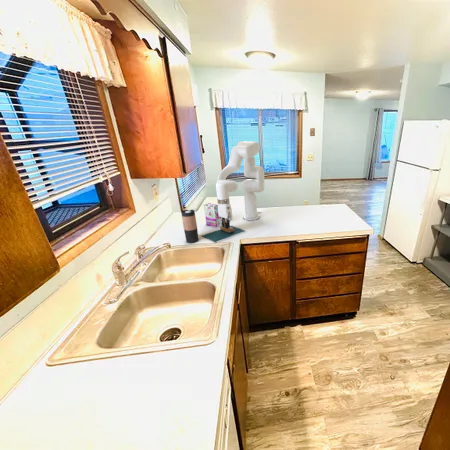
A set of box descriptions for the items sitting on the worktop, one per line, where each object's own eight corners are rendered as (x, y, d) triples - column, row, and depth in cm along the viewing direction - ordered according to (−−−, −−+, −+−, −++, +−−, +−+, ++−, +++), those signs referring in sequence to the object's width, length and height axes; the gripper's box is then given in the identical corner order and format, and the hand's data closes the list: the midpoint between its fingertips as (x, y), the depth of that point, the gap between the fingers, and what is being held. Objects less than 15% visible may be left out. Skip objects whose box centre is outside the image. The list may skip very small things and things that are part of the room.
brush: (225, 229, 170) (223, 216, 166) (234, 232, 165) (232, 219, 161) (220, 231, 167) (218, 218, 164) (229, 234, 162) (227, 221, 158)
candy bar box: (222, 225, 179) (219, 204, 174) (217, 227, 175) (214, 206, 169) (211, 223, 184) (208, 202, 178) (206, 225, 180) (203, 204, 174)
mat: (231, 226, 178) (231, 225, 178) (245, 231, 169) (245, 230, 169) (202, 236, 160) (202, 235, 160) (216, 242, 151) (216, 241, 151)
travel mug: (190, 244, 148) (186, 213, 141) (183, 241, 152) (178, 211, 145) (201, 240, 154) (197, 210, 147) (194, 237, 158) (189, 208, 151)
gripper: (235, 202, 156) (238, 228, 162) (220, 198, 165) (223, 222, 172) (226, 204, 150) (228, 231, 157) (211, 200, 160) (214, 225, 166)
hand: (226, 226), depth 164 cm, fingers closed on brush, 3 cm apart
